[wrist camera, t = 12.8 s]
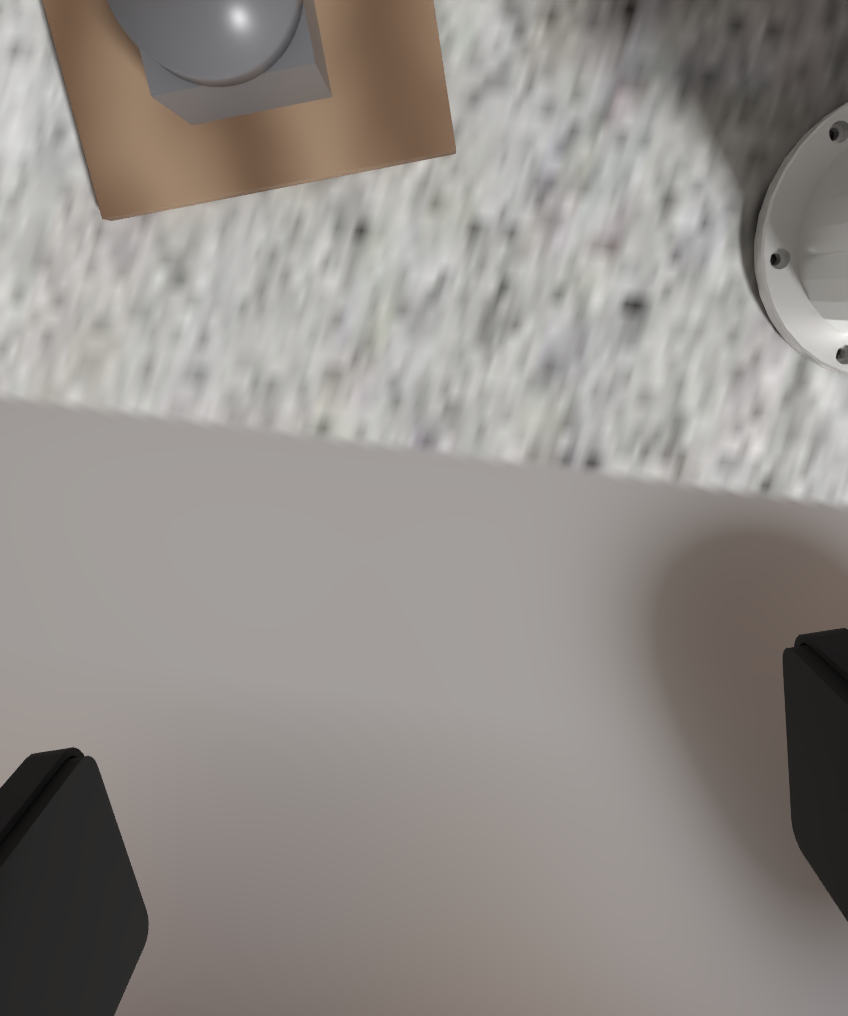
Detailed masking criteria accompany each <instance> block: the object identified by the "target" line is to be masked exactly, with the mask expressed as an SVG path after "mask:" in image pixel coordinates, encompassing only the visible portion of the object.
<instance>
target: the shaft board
mask: <svg viewBox="0 0 848 1016" xmlns="http://www.w3.org/2000/svg"><path fill="white" fill-rule="evenodd" d="M42 1H43V5H44V9H45V12H46V16H47V20H48V23H49V27H50V30H51V34H52V38H53V41H54V45H55V49H56V52H57V56H58V60H59V63H60V67H61V71H62V74H63V78H64V81H65V85H66V89H67V92H68V96H69V100H70V103H71V107H72V111H73V114H74V118H75V122H76V125H77V129H78V132H79V136H80V140H81V143H82V147H83V151H84V154H85V158H86V162H87V165H88V169H89V173H90V176H91V180H92V183H93V187H94V191H95V194H96V198H97V202H98V205H99V209H100V213H101V216H102V219H105V220H110V221H113V220H118V219H123V218H128V217H134V216H139V215H144V214H149V213H154V212H159V211H164V210H169V209H175V208H180V207H185V206H190V205H195V204H200V203H205V202H211V201H216V200H221V199H226V198H231V197H236V196H241V195H246V194H252V193H257V192H262V191H267V190H272V189H277V188H282V187H288V186H293V185H298V184H303V183H308V182H313V181H318V180H323V179H329V178H334V177H339V176H344V175H349V174H354V173H359V172H365V171H370V170H375V169H380V168H385V167H390V166H395V165H400V164H406V163H411V162H416V161H421V160H426V159H431V158H436V157H442V156H447V155H452V154H455V153H456V146H455V140H454V133H453V127H452V120H451V114H450V107H449V101H448V94H447V87H446V81H445V74H444V68H443V61H442V55H441V48H440V42H439V35H438V29H437V22H436V15H435V9H434V2H433V0H314V3H315V8H316V14H317V19H318V24H319V29H320V35H321V40H322V45H323V51H324V56H325V61H326V66H327V72H328V77H329V82H330V88H331V93H332V97H330V98H325V99H320V100H315V101H310V102H305V103H300V104H295V105H290V106H285V107H280V108H275V109H270V110H265V111H260V112H255V113H250V114H245V115H240V116H235V117H230V118H225V119H220V120H215V121H210V122H205V123H200V124H196V125H191V124H190V123H188V122H187V121H185V120H184V119H183V118H181V117H180V116H178V115H177V114H175V113H174V112H173V111H171V110H170V109H168V108H167V107H165V106H164V105H163V104H161V103H160V102H158V101H157V100H155V99H154V98H153V97H151V94H150V90H149V86H148V82H147V78H146V74H145V70H144V66H143V62H142V58H141V54H140V50H139V47H138V46H137V45H136V44H135V43H134V42H133V41H132V39H131V38H130V37H129V36H128V35H127V34H126V32H125V31H124V30H123V28H122V27H121V26H120V24H119V23H118V21H117V19H116V18H115V16H114V14H113V12H112V10H111V8H110V6H109V4H108V1H107V0H42Z"/></svg>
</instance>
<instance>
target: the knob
mask: <svg viewBox="0 0 848 1016" xmlns="http://www.w3.org/2000/svg"><path fill="white" fill-rule="evenodd" d="M107 1H108V4H109V6H110V8H111V10H112V12H113V14H114V16H115V18H116V19H117V21H118V23H119V24H120V26H121V27H122V28H123V30H124V31H125V32H126V34H127V35H128V36H129V37H130V38H131V39H132V41H133V42H134V43H135V44H136V45H137V46H138V47H139V50H140V54H141V58H142V62H143V66H144V70H145V74H146V78H147V82H148V86H149V90H150V94H151V97H153V98H154V99H155V100H157V101H158V102H160V103H161V104H163V105H164V106H165V107H167V108H168V109H170V110H171V111H173V112H174V113H175V114H177V115H178V116H180V117H181V118H183V119H184V120H185V121H187V122H188V123H190V124H191V125H196V124H200V123H205V122H210V121H215V120H220V119H225V118H230V117H235V116H240V115H245V114H250V113H255V112H260V111H265V110H270V109H275V108H280V107H285V106H290V105H295V104H300V103H305V102H310V101H315V100H320V99H325V98H330V97H332V93H331V88H330V82H329V77H328V72H327V66H326V61H325V56H324V51H323V45H322V40H321V35H320V29H319V24H318V19H317V14H316V8H315V3H314V0H107Z"/></svg>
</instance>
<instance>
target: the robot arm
mask: <svg viewBox="0 0 848 1016" xmlns="http://www.w3.org/2000/svg"><path fill="white" fill-rule="evenodd" d="M830 130H831V131H832V132H833V133H834V138H833V140H831V139H830V136H829V131H830ZM772 254H774V255H775V256H776V263H775V264H774V265H771V262H770V258H771V255H772ZM754 270H755V275H756V280H757V285H758V290H759V295H760V297H761V300H762V302H763V305H764V307H765V309H766V312H767V314H768V316H769V319H770V320H771V322H772V323H773V324H774V326H775V327H776V329H777V330H778V332H779V333H780V334H781V336H782V337H783V339H784V340H785V341H787V342H788V343H789V344H790V345H791V346H792V347H793V348H794V349H795V350H796V351H797V352H798V353H800V354H801V355H802V356H804V357H805V358H807V359H809V360H811V361H812V362H814V363H816V364H817V365H819V366H821V367H823V368H826V369H829V370H832V371H835V372H838V373H841V374H845V375H848V102H847V103H845V104H843V105H842V106H840V107H839V108H837V109H835V110H834V111H832V112H831V113H829V114H827V115H826V116H825V117H823V118H822V119H821V120H820V121H819V122H818V123H817V124H816V125H815V126H813V127H812V128H811V129H810V130H809V131H808V132H807V133H806V134H805V135H803V136H802V138H801V139H800V140H799V141H798V143H797V144H796V145H795V146H794V148H793V149H792V150H791V151H790V153H789V154H788V155H787V156H786V158H785V159H784V160H783V162H782V164H781V165H780V167H779V169H778V171H777V173H776V174H775V176H774V178H773V180H772V182H771V183H770V185H769V187H768V190H767V193H766V196H765V199H764V201H763V204H762V207H761V210H760V213H759V217H758V223H757V228H756V234H755V240H754ZM839 349H840V355H839V357H838V358H836V353H837V351H838V350H839ZM783 677H784V694H785V712H786V731H787V748H788V767H789V784H790V803H791V820H792V827H793V831H794V835H795V838H796V841H797V843H798V845H799V848H800V850H801V851H802V853H803V854H804V856H805V858H806V859H807V861H808V862H809V864H810V865H811V867H812V868H813V870H814V871H815V873H816V874H817V876H818V877H819V879H820V880H821V882H822V883H823V885H824V886H825V888H826V889H827V891H828V892H829V894H830V895H831V897H832V898H833V900H834V902H835V903H836V905H837V906H838V907H839V909H840V910H841V912H842V914H843V915H844V917H845V918H846V920H847V921H848V629H846V628H842V629H834V630H827V631H821V632H815V633H809V634H803V635H799V636H798V637H797V638H796V641H795V644H794V647H792V648H786V649H785V650H784V653H783ZM147 935H148V915H147V911H146V908H145V905H144V902H143V899H142V896H141V893H140V890H139V887H138V884H137V881H136V878H135V875H134V872H133V869H132V866H131V863H130V860H129V857H128V855H127V851H126V848H125V845H124V842H123V840H122V836H121V833H120V831H119V828H118V825H117V822H116V819H115V816H114V813H113V810H112V807H111V804H110V801H109V798H108V795H107V792H106V789H105V786H104V783H103V780H102V777H101V774H100V772H99V768H98V766H97V764H96V761H95V760H94V759H93V758H92V757H90V756H84V754H83V753H82V752H81V751H80V750H79V749H77V748H74V747H73V748H67V749H60V750H54V751H47V752H41V753H35V754H31V755H30V756H29V757H27V758H26V759H25V760H24V762H23V763H22V764H21V765H20V766H19V767H18V768H17V770H16V771H15V772H14V773H13V774H12V775H11V777H10V778H9V779H8V780H7V781H6V782H5V784H4V785H3V786H2V787H1V788H0V1016H114V1014H115V1012H116V1010H117V1007H118V1005H119V1003H120V1001H121V998H122V996H123V994H124V992H125V989H126V987H127V985H128V982H129V980H130V978H131V975H132V973H133V971H134V969H135V966H136V964H137V962H138V960H139V957H140V955H141V953H142V950H143V948H144V946H145V943H146V940H147Z"/></svg>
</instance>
